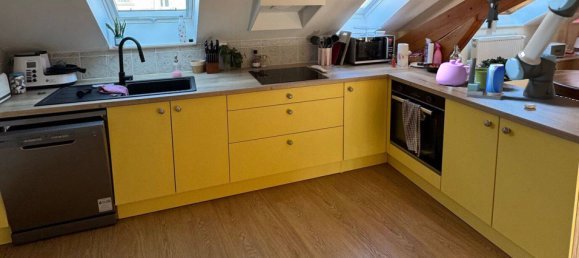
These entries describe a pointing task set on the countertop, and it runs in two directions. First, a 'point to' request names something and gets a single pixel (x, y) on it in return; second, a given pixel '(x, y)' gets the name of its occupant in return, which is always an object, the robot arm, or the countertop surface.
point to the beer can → (495, 79)
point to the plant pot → (481, 76)
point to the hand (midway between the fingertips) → (491, 33)
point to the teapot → (452, 73)
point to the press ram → (473, 77)
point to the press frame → (483, 94)
